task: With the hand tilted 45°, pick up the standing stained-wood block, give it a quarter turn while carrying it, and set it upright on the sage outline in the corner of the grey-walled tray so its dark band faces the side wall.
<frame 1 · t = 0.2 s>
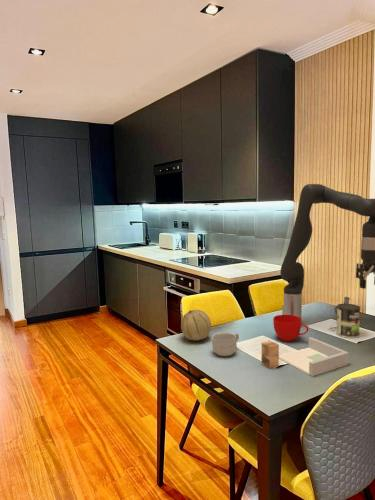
hand: (370, 286, 150), 29 cm above the table, tool pointing down, fingers open, 8 cm apart
mortar and pestle: (344, 319, 198), on the table
ceramic cup: (290, 340, 172), on the table
wood block: (270, 365, 146), on the table
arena: (308, 360, 149), on the table
coffee can: (347, 334, 177), on the table
cantaloupe: (196, 339, 176), on the table
teacup: (227, 353, 159), on the table
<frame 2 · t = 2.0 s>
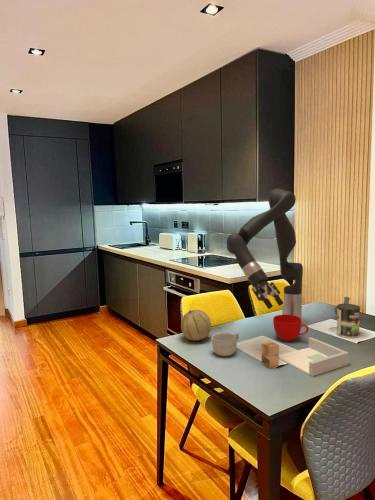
hand: (276, 306, 148), 23 cm above the table, tool tilted 40°, fingers open, 8 cm apart
nothing on the table moved.
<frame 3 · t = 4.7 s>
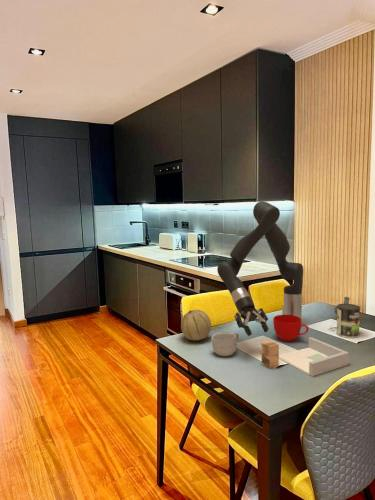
hand: (258, 333, 151), 11 cm above the table, tool tilted 45°, fingers open, 8 cm apart
nothing on the table moved.
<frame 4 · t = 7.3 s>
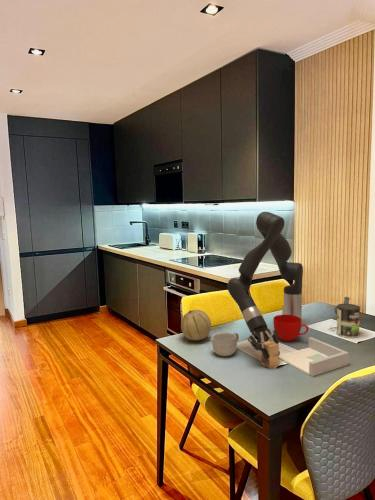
hand: (273, 356, 144), 4 cm above the table, tool tilted 45°, fingers closed on wood block, 4 cm apart
wood block: (269, 364, 146), on the table, touching gripper
everything else where it was.
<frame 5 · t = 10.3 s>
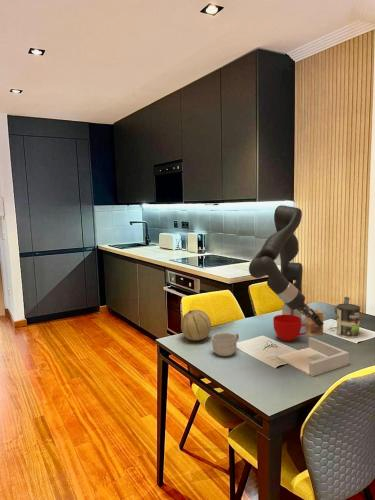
hand: (318, 323, 146), 16 cm above the table, tool tilted 45°, fingers closed on wood block, 4 cm apart
wood block: (314, 333, 146), point 12 cm above the table, touching gripper
everything else where it was.
when the fingers open (6 cm above the table, at t = 13.6 s): wood block drops 1 cm, resting on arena.
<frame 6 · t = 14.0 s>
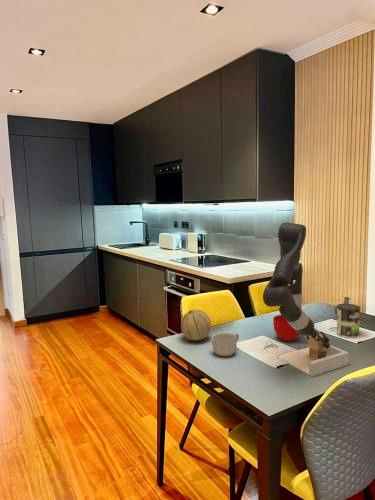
hand: (320, 343, 150), 7 cm above the table, tool tilted 45°, fingers open, 7 cm apart
wood block: (317, 357, 150), point 1 cm above the table, touching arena
everything else where it was.
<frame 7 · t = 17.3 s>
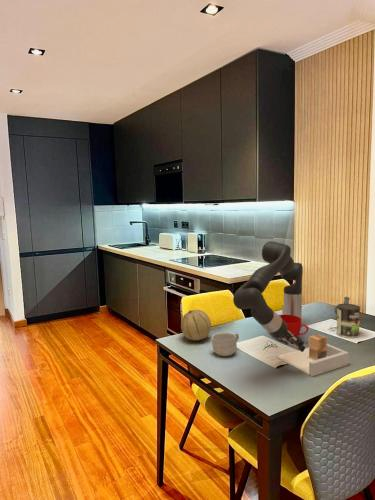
hand: (295, 346, 144), 8 cm above the table, tool tilted 45°, fingers open, 8 cm apart
nothing on the table moved.
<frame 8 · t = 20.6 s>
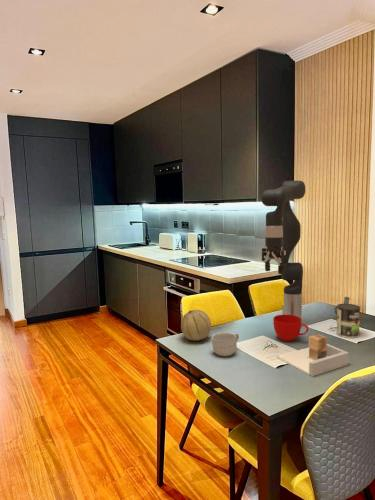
hand: (274, 272, 160), 34 cm above the table, tool pointing down, fingers open, 8 cm apart
nothing on the table moved.
at the end: wood block 0.0 cm from the target spot on the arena, point 0.7 cm above the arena's base; wood block tilted 0°; the gripper is holding nothing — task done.
